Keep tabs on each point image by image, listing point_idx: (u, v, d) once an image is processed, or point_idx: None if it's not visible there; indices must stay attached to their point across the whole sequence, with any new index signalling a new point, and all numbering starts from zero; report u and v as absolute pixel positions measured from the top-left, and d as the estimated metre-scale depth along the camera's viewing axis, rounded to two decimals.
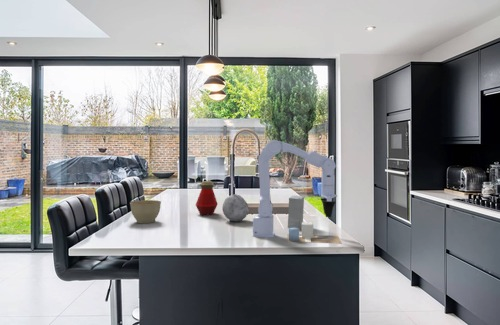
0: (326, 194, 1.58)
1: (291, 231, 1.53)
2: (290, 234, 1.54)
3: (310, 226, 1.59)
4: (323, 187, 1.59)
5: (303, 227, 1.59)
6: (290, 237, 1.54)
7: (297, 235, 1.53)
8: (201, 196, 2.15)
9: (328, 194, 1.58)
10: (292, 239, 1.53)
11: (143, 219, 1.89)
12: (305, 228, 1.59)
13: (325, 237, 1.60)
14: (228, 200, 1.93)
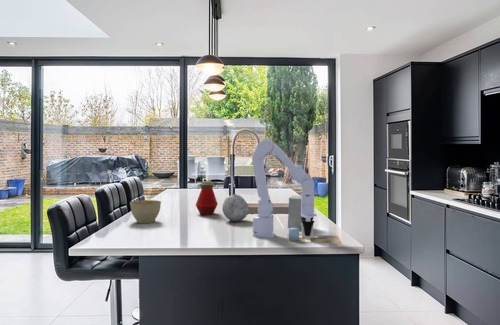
0: (305, 213, 1.59)
1: (291, 231, 1.53)
2: (290, 234, 1.54)
3: None
4: (303, 206, 1.59)
5: (303, 227, 1.59)
6: (290, 237, 1.54)
7: (297, 235, 1.53)
8: (201, 196, 2.15)
9: (307, 213, 1.58)
10: (292, 239, 1.53)
11: (143, 219, 1.89)
12: None
13: (325, 237, 1.60)
14: (228, 200, 1.93)
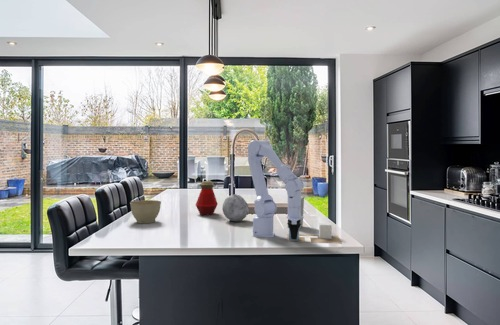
0: (292, 216, 1.52)
1: None
2: (290, 234, 1.54)
3: (328, 226, 1.58)
4: (289, 209, 1.53)
5: (321, 227, 1.58)
6: (290, 237, 1.54)
7: (297, 235, 1.53)
8: (201, 196, 2.15)
9: (294, 216, 1.52)
10: (292, 239, 1.53)
11: (143, 219, 1.89)
12: (323, 229, 1.58)
13: None
14: (228, 200, 1.93)
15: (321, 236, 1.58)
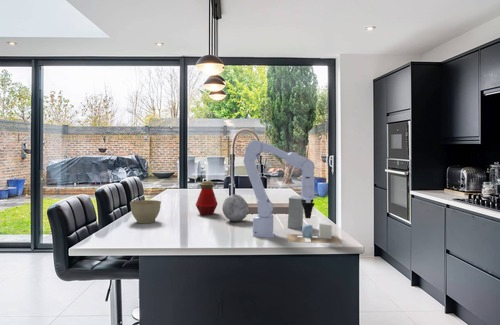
0: (306, 195, 1.58)
1: (305, 228, 1.60)
2: (304, 231, 1.60)
3: (328, 226, 1.58)
4: (303, 188, 1.59)
5: (321, 227, 1.58)
6: (304, 234, 1.60)
7: (310, 232, 1.60)
8: (201, 196, 2.15)
9: (308, 195, 1.58)
10: (306, 236, 1.59)
11: (143, 219, 1.89)
12: (323, 229, 1.58)
13: None
14: (228, 200, 1.93)
15: (321, 236, 1.58)
